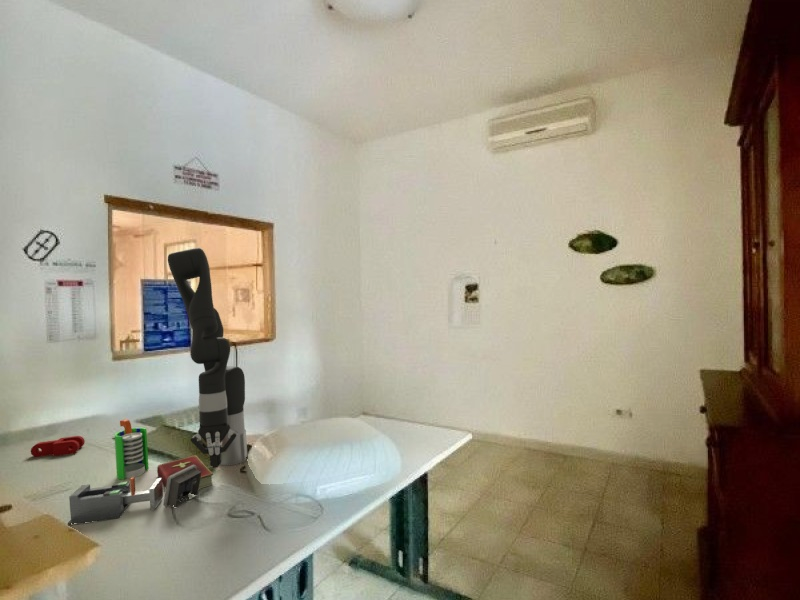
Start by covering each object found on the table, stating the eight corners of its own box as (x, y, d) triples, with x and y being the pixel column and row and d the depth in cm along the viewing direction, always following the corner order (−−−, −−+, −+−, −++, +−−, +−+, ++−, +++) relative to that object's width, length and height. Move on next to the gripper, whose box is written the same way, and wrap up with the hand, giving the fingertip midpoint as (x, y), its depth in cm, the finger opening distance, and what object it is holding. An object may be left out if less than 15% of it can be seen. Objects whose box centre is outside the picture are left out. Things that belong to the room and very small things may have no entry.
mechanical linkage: (85, 447, 175) (84, 435, 175) (78, 453, 168) (77, 440, 168) (37, 453, 170) (36, 441, 170) (28, 460, 163) (27, 447, 163)
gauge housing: (133, 500, 126) (131, 476, 126) (119, 518, 116) (117, 492, 116) (86, 507, 124) (84, 482, 123) (67, 525, 114) (65, 499, 114)
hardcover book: (170, 499, 127) (169, 485, 126) (157, 477, 143) (156, 464, 143) (213, 486, 134) (212, 472, 134) (196, 466, 151) (195, 454, 150)
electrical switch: (190, 492, 130) (190, 462, 129) (203, 496, 128) (203, 466, 127) (162, 508, 121) (162, 475, 120) (176, 512, 119) (176, 480, 118)
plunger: (163, 496, 126) (161, 469, 126) (155, 508, 120) (153, 480, 119) (112, 504, 124) (110, 476, 123) (101, 516, 117) (99, 487, 117)
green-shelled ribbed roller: (131, 480, 141) (127, 425, 140) (110, 479, 142) (106, 424, 142) (152, 468, 150) (148, 416, 149) (132, 467, 151) (128, 416, 151)
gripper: (239, 402, 131) (242, 459, 131) (192, 405, 128) (195, 464, 128) (234, 408, 123) (237, 469, 123) (184, 412, 121) (187, 474, 121)
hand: (215, 466), depth 126 cm, fingers closed
